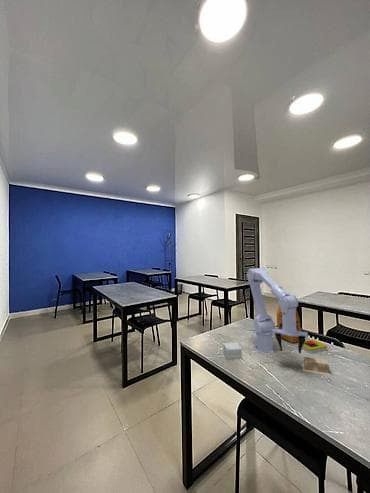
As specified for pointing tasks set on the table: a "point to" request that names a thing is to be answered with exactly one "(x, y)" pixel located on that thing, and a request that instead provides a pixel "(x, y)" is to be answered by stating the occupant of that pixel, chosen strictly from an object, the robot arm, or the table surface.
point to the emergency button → (314, 347)
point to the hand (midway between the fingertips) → (290, 351)
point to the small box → (232, 351)
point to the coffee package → (280, 326)
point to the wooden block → (316, 365)
